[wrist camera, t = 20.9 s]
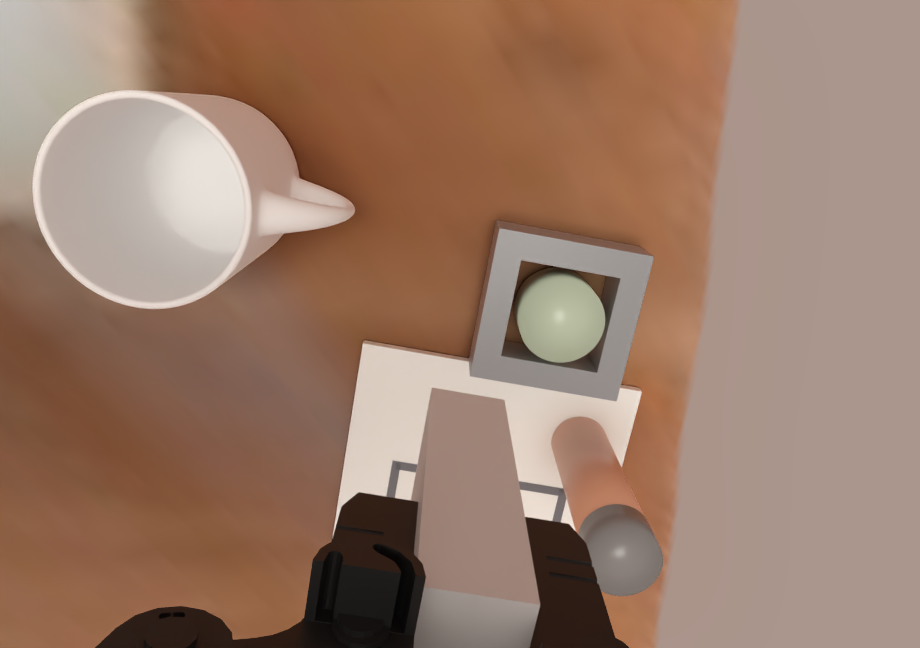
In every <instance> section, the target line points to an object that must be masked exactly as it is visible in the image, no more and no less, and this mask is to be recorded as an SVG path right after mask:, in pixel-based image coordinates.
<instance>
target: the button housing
mask: <svg viewBox="0 0 920 648" xmlns="http://www.w3.org/2000/svg"><path fill="white" fill-rule="evenodd" d="M653 259H654V256H653V255H651V254H650V253H648V252H647V251H646V250H644V249H643V248H642V247H640V246H636V245H630V244H625V243H619V242H614V241H608V240H603V239H598V238H592V237H587V236H581V235H576V234H570V233H565V232H560V231H554V230H549V229H543V228H538V227H533V226H527V225H522V224H516V223H511V222H505V221H500V220H496V223H495V229H494V234H493V239H492V244H491V249H490V254H489V259H488V264H487V269H486V274H485V279H484V284H483V289H482V294H481V299H480V304H479V309H478V314H477V319H476V324H475V329H474V335H473V340H472V345H471V350H470V355H469V370H470V376H471V377H477V378H483V379H489V380H494V381H500V382H506V383H512V384H518V385H523V386H529V387H535V388H541V389H547V390H553V391H558V392H564V393H570V394H576V395H582V396H587V397H593V398H599V399H605V400H611V401H617V398H618V394H619V390H620V386H621V383H622V379H623V375H624V371H625V367H626V363H627V359H628V356H629V352H630V348H631V344H632V340H633V336H634V332H635V329H636V325H637V321H638V317H639V313H640V309H641V305H642V301H643V298H644V294H645V290H646V286H647V282H648V278H649V274H650V271H651V267H652V263H653ZM521 260H523V261H528V262H534V263H539V264H545V265H550V266H556V267H561V268H567V269H572V270H578V271H583V272H589V273H594V274H600V275H605V276H607V277H606V281H605V285H604V289H603V293H602V298H601V303H602V305H603V308H604V312H605V327H604V331H603V334H602V336H601V338H600V340H599V342H598V343H597V345H596V346H595V347H594V348H593V349H592V350H591V351H590V352H589V353H588V355H585V356H583V357H581V358H579V359H577V360H574V361H570V362H564V363H557V362H551V361H547V360H544V359H542V358H540V357H538V356H536V355H535V354H534V353H533V352H531V351H530V350H529V348H528V347H527V346H526V345H525V344H521V343H516V342H510V341H504V339H505V335H506V330H507V325H508V320H509V316H510V311H511V306H512V301H513V296H514V292H515V287H516V282H517V277H518V273H519V268H520V263H521Z"/></svg>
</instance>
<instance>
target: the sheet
mask: <svg viewBox="0 0 920 648" xmlns="http://www.w3.org/2000/svg"><path fill="white" fill-rule="evenodd" d="M432 388H438V389H444V390H450V391H456V392H462V393H468V394H473V395H479V396H485V397H491V398H497V399H503V400H505V406H506V411H507V417H508V423H509V428H510V434H511V440H512V446H513V451H514V457H515V463H516V469H517V474H518V480H519V486H520V491H521V497H522V503H523V509H524V514H525V517H530V518H536V519H542V520H549V521H555V522H561V523H567V524H569V525H570V526H571V527H572V528H573V529H574V530H575V527H574V523H573V520H572V516H571V513H570V509H569V506H568V502H567V499H566V495H565V492H564V489H563V485H562V482H561V478H560V475H559V471H558V468H557V464H556V461H555V457H554V454H553V450H552V446H551V440H552V436H553V433H554V431H555V430H556V428H557V427H558V426H559V425H560V424H561V423H562V422H564V421H565V420H567V419H570V418H573V417H588V418H591V419H593V420H595V421H596V422H598V423H599V424H600V425H601V426H602V428H603V429H604V431H605V433H606V435H607V438H608V440H609V442H610V444H611V446H612V448H613V450H614V453H615V455H616V457H617V459H618V461H619V463H620V465H621V467H622V465H623V461H624V457H625V453H626V450H627V446H628V442H629V438H630V435H631V431H632V427H633V423H634V420H635V416H636V412H637V408H638V405H639V401H640V397H641V394H642V391H641V389H640V388H637V387H632V386H626V385H621V386H620V390H619V394H618V398H617V401H611V400H605V399H599V398H593V397H587V396H582V395H576V394H570V393H564V392H558V391H553V390H547V389H541V388H535V387H529V386H523V385H518V384H512V383H506V382H500V381H494V380H489V379H483V378H477V377H471V376H470V370H469V358H464V357H458V356H453V355H447V354H441V353H435V352H430V351H424V350H418V349H412V348H406V347H401V346H395V345H389V344H383V343H378V342H372V341H366V340H364V342H363V346H362V352H361V359H360V365H359V371H358V378H357V384H356V391H355V397H354V403H353V410H352V416H351V423H350V429H349V435H348V442H347V448H346V454H345V461H344V467H343V474H342V480H341V486H340V493H339V499H338V505H337V512H336V518H335V525H334V531H335V529H336V524H337V521H338V517H339V514H340V510H341V507H342V505H344V504H345V503H346V502H347V501H348V500H350V499H351V498H352V497H353V496H355V495H356V494H357V493H358V492H361V493H367V494H374V495H380V496H386V497H392V498H398V499H405V500H411V496H412V491H413V485H414V480H415V475H416V469H417V464H418V459H419V453H420V448H421V442H422V437H423V432H424V426H425V421H426V416H427V410H428V405H429V399H430V394H431V389H432ZM334 531H333V535H334ZM575 531H576V530H575ZM332 538H333V537H332Z"/></svg>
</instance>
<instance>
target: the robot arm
mask: <svg viewBox="0 0 920 648" xmlns="http://www.w3.org/2000/svg"><path fill="white" fill-rule="evenodd" d="M95 648H629V647H628V646H627V645H626V644H625V643H624V642H622V641H620V640H618V639H616V638H615V636H614V632H613V629H612V626H611V623H610V619H609V616H608V613H607V609H606V606H605V603H604V600H603V596H602V593H601V590H600V587H599V584H597V577H596V573H595V570H594V567H592V560H591V557H590V554H589V551H588V547H587V544H586V542H585V541H584V540H583V539H582V538H581V537H580V536H579V535H578V533H577V532H576V531H575V530H574V529H573V528H572V527H571V526H570V525H569V524H567V523H561V522H555V521H549V520H542V519H536V518H530V517H525V514H524V509H523V503H522V497H521V491H520V486H519V480H518V474H517V469H516V463H515V457H514V451H513V446H512V440H511V434H510V428H509V423H508V417H507V411H506V406H505V400H503V399H497V398H491V397H485V396H479V395H473V394H468V393H462V392H456V391H450V390H444V389H438V388H432V389H431V394H430V399H429V405H428V410H427V416H426V421H425V426H424V432H423V437H422V442H421V448H420V453H419V459H418V464H417V469H416V475H415V480H414V485H413V491H412V496H411V500H405V499H398V498H392V497H386V496H380V495H374V494H367V493H361V492H358V493H357V494H356V495H355V496H353V497H352V498H351V499H350V500H348V501H347V502H346V503H345V504H344V505H342V507H341V510H340V514H339V517H338V521H337V524H336V529H335V531H334V535H333V538H332V542H331V543H329V544H327V545H325V546H324V547H322V548H321V549H320V550H319V552H318V553H317V555H316V556H315V557H314V559H313V563H312V570H311V577H310V583H309V590H308V597H307V603H306V610H305V617H304V619H303V620H302V621H301V622H299V623H298V624H296V625H294V626H293V627H291V628H290V629H288V630H285V631H282V632H280V633H277V634H274V635H270V636H264V637H258V638H250V639H239V640H233V639H232V632H231V631H230V630H229V628H228V627H227V626H226V625H225V623H224V622H223V621H222V620H221V619H220V618H218V617H216V616H214V615H212V614H210V613H208V612H206V611H204V610H200V609H194V608H189V607H183V606H179V607H165V608H157V609H153V610H150V611H147V612H144V613H141V614H138V615H135V616H134V617H132V618H131V619H129V620H128V621H126V622H124V623H123V624H121V625H120V626H118V627H117V628H116V629H115V630H114V631H113V632H111V633H110V634H109V635H108V636H107V637H106V638H105V639H104V640H103V641H102V642H101V643H100V644H99V645H97V646H96V647H95Z"/></svg>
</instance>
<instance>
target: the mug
mask: <svg viewBox="0 0 920 648" xmlns="http://www.w3.org/2000/svg"><path fill="white" fill-rule="evenodd" d="M32 192H33V203H34V208H35V213H36V218H37V221H38V223H39V226H40V229H41V232H42V234H43V236H44V238H45V240H46V242H47V244H48V246H49V247H50V249H51V251H52V252H53V254H54V255H55V257H56V258H57V259H58V260H59V262H60V263H61V264H62V265H63V267H64V268H65V269H66V270H67V271H68V272H69V273H70V274H71V275H72V276H73V277H74V278H76V279H77V280H78V281H79V282H81V283H82V284H83V285H84V286H86V287H87V288H89V289H90V290H92V291H94V292H95V293H97V294H99V295H101V296H103V297H105V298H107V299H109V300H112V301H114V302H117V303H120V304H124V305H127V306H132V307H137V308H145V309H166V308H172V307H178V306H182V305H185V304H188V303H191V302H194V301H196V300H198V299H200V298H202V297H204V296H206V295H208V294H209V293H211V292H212V291H214V290H215V289H217V288H218V287H219V286H221V285H222V284H223V283H225V282H226V281H227V280H229V279H230V278H231V277H233V276H234V275H235V274H237V273H238V272H239V271H241V270H242V269H243V268H245V267H246V266H247V265H249V264H250V263H251V262H253V261H254V260H255V259H257V258H258V257H259V256H261V255H262V254H263V253H265V252H266V251H267V250H268V249H270V248H271V247H272V246H273V245H274V244H275V243H276V242H277V241H278V240H279V239H280V238H281V236H282V235H283V234H284V233H293V232H301V231H308V230H314V229H319V228H324V227H329V226H332V225H336V224H339V223H341V222H344V221H346V220H348V219H349V218H351V217H352V216H353V215H354V213H355V207H354V205H353V204H352V203H351V202H350V201H349V200H348V199H346V198H345V197H343V196H341V195H339V194H337V193H335V192H333V191H331V190H329V189H326V188H324V187H321V186H319V185H316V184H313V183H311V182H308V181H305V180H303V179H300V178H299V171H298V167H297V163H296V159H295V157H294V154H293V151H292V149H291V147H290V145H289V143H288V141H287V140H286V138H285V137H284V136H283V134H282V133H281V131H280V130H279V129H278V128H277V127H276V126H275V124H274V123H273V122H272V121H270V120H269V119H268V118H267V117H266V116H265V115H264V114H262V113H261V112H259V111H258V110H256V109H255V108H253V107H251V106H249V105H247V104H245V103H243V102H240V101H237V100H235V99H231V98H227V97H222V96H216V95H204V94H188V93H173V92H157V91H142V90H119V91H113V92H107V93H103V94H100V95H97V96H94V97H91V98H89V99H87V100H85V101H83V102H81V103H79V104H77V105H76V106H74V107H73V108H72V109H70V110H69V111H68V112H66V113H65V114H64V115H63V116H62V117H61V118H60V119H59V120H58V121H57V122H56V123H55V124H54V126H53V127H52V128H51V130H50V131H49V132H48V134H47V136H46V138H45V139H44V141H43V143H42V145H41V147H40V150H39V153H38V156H37V158H36V162H35V167H34V172H33V184H32Z"/></svg>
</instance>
